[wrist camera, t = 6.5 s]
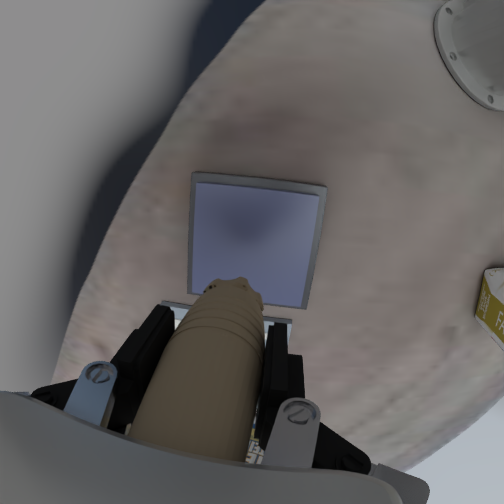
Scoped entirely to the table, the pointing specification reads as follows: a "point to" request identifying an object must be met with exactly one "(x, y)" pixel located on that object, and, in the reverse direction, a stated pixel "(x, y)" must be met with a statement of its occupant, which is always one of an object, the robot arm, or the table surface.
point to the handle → (208, 376)
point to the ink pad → (255, 235)
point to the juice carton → (492, 305)
